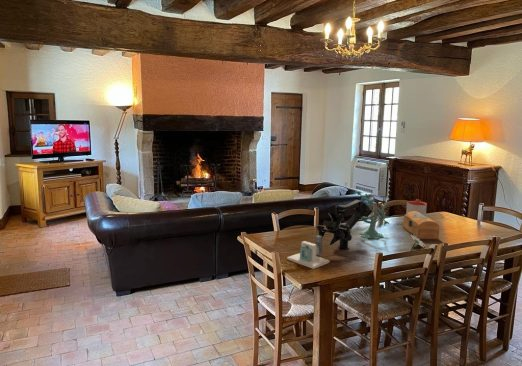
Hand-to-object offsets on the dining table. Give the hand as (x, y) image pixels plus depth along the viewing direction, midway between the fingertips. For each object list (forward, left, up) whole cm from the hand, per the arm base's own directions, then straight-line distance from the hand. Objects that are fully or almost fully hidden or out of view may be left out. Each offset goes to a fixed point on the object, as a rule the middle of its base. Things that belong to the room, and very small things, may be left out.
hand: (324, 243), depth 247 cm
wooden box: (-48, +84, -8) cm, 97 cm away
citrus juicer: (-79, +94, -8) cm, 123 cm away
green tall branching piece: (-41, +45, -8) cm, 62 cm away
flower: (-12, +63, -8) cm, 64 cm away
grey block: (+6, -8, -6) cm, 12 cm away
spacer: (+11, -14, -6) cm, 19 cm away
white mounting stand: (+10, -12, -8) cm, 17 cm away
